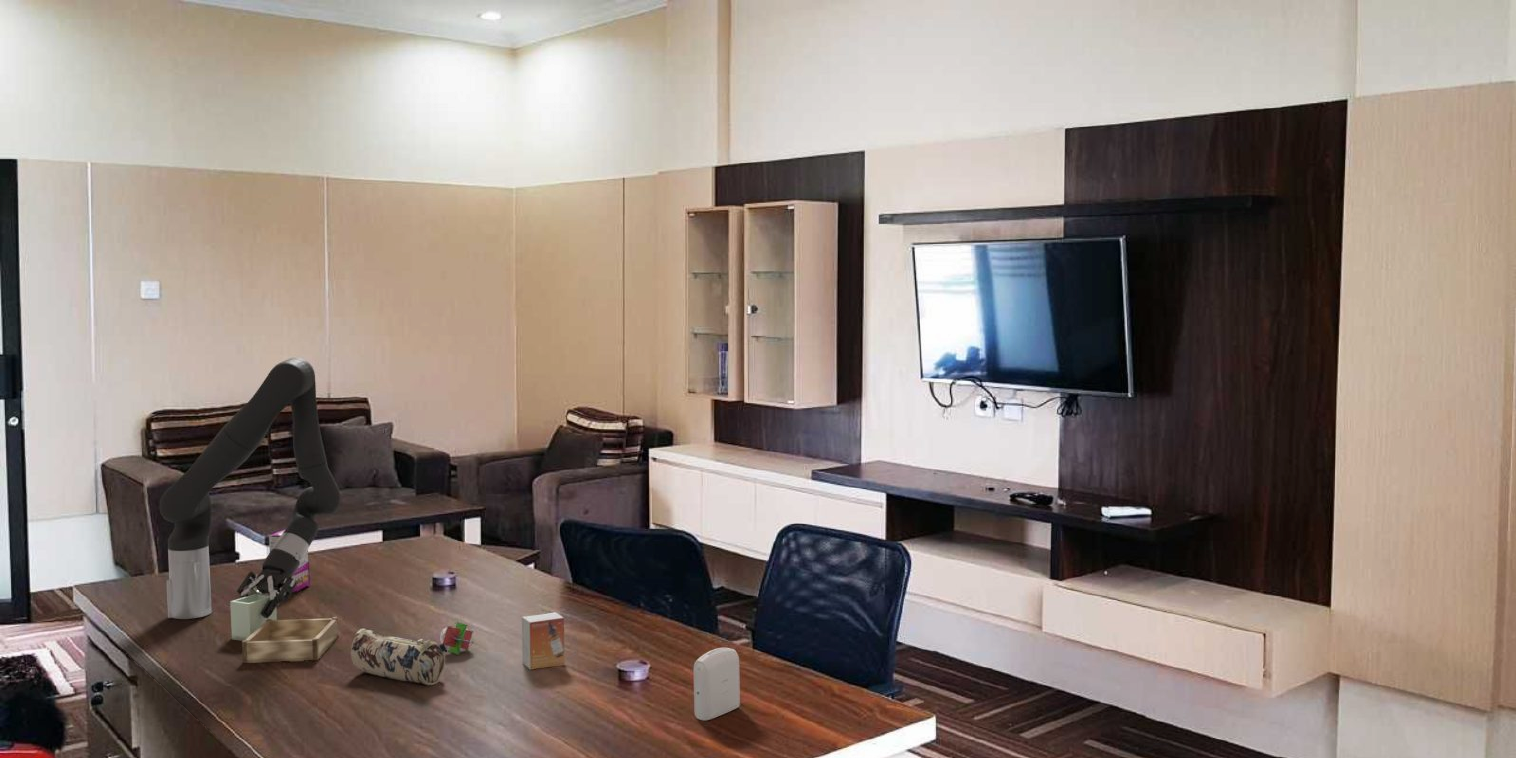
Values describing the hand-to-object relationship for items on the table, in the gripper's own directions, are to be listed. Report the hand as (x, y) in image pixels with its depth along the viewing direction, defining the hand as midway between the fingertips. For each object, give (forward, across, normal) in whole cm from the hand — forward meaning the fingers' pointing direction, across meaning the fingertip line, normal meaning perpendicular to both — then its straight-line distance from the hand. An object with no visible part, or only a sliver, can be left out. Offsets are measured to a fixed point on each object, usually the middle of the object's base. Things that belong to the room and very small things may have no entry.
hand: (250, 614), depth 291 cm
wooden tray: (+6, +16, +2) cm, 18 cm away
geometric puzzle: (-3, +52, +12) cm, 54 cm away
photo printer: (+5, +123, +4) cm, 123 cm away
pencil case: (+10, +52, -2) cm, 53 cm away
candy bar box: (-22, -25, +30) cm, 44 cm away
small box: (-3, +75, +12) cm, 76 cm away
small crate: (+3, 0, +5) cm, 6 cm away
